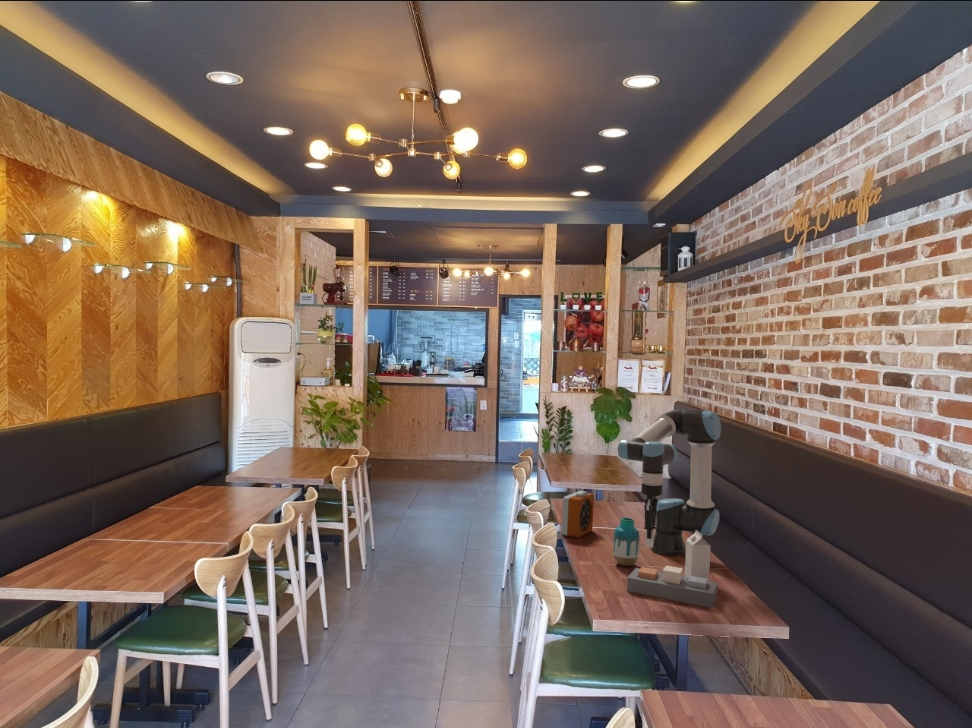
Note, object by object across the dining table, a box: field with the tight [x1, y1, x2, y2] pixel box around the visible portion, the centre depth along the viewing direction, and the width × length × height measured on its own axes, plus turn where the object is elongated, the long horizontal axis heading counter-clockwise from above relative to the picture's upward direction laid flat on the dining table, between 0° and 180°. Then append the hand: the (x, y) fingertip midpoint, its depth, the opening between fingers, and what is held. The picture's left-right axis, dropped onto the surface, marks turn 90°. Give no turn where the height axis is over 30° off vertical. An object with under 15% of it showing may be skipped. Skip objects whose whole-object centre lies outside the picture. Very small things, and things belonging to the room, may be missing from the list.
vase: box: [612, 516, 640, 567], centre depth 272 cm, size 11×11×19 cm
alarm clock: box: [561, 490, 595, 539], centre depth 317 cm, size 18×9×21 cm, turn 148°
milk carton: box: [684, 530, 711, 581], centre depth 256 cm, size 7×7×19 cm
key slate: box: [688, 576, 708, 589], centre depth 237 cm, size 6×6×6 cm
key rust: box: [638, 566, 659, 580], centre depth 245 cm, size 6×6×6 cm
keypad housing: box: [626, 567, 718, 609], centre depth 241 cm, size 13×30×5 cm, turn 64°
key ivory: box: [662, 565, 684, 584], centre depth 241 cm, size 6×6×6 cm
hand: (649, 546), depth 244 cm, fingers closed
